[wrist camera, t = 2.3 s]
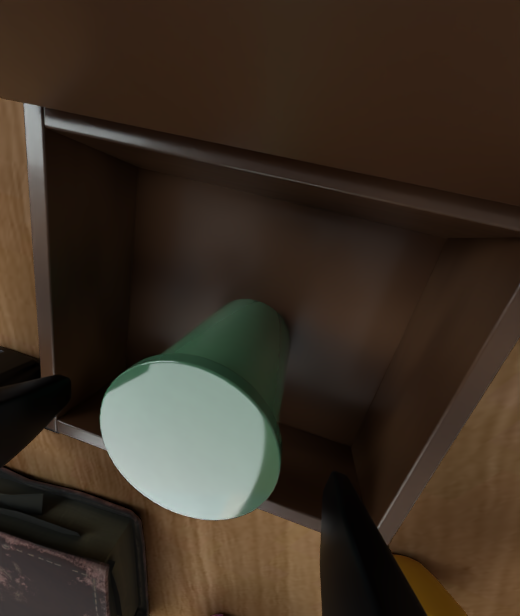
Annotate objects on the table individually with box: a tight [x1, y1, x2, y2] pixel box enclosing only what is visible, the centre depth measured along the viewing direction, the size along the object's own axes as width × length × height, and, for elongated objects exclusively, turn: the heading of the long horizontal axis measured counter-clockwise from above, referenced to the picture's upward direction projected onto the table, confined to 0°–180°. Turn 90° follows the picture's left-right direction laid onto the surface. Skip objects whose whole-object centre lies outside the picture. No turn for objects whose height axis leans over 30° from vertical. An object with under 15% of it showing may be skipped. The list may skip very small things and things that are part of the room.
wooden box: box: [23, 103, 520, 546], centre depth 12 cm, size 15×18×6 cm
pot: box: [99, 299, 291, 520], centre depth 11 cm, size 6×6×8 cm
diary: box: [0, 467, 149, 616], centre depth 24 cm, size 19×25×5 cm
